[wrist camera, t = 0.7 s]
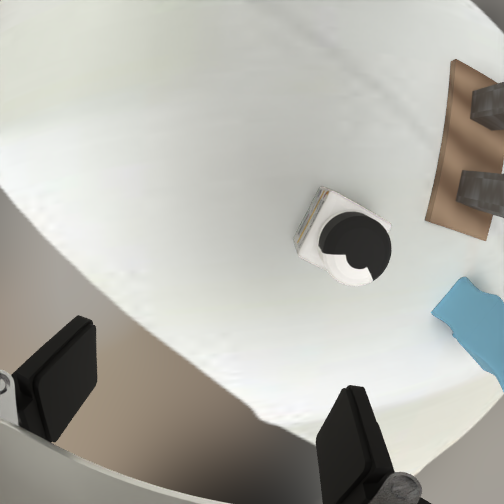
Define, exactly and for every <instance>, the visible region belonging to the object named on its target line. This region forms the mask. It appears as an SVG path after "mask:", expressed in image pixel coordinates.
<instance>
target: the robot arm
mask: <svg viewBox="0 0 504 504" xmlns="http://www.w3.org/2000/svg"><path fill="white" fill-rule="evenodd" d="M96 383H97V358H96V326H95V325H93V322H92V320H90V319H87V318H84V317H82V316H79V315H78V316H76V317H75V318H74V319H73V320H72V321H71V322H69V323H68V324H67V325H66V326H65V327H63V328H62V329H61V330H60V331H59V332H58V333H57V334H56V335H55V336H53V337H52V338H51V339H50V340H49V341H48V342H46V343H45V344H44V345H43V346H42V347H41V348H40V349H39V350H38V351H36V352H35V353H34V354H33V355H32V356H31V357H30V358H29V359H28V360H27V361H26V362H25V363H24V364H23V365H21V367H19V368H18V369H17V370H16V371H15V372H14V373H13V374H12V375H10V374H9V373H7V372H6V371H3V370H0V504H229V503H224V502H219V501H214V500H209V499H204V498H200V497H195V496H191V495H187V494H183V493H179V492H176V491H172V490H168V489H165V488H162V487H158V486H155V485H152V484H149V483H146V482H143V481H140V480H137V479H134V478H131V477H128V476H125V475H122V474H120V473H117V472H115V471H112V470H110V469H107V468H104V467H102V466H100V465H97V464H95V463H93V462H90V461H88V460H86V459H84V458H82V457H79V456H77V455H75V454H73V453H71V452H69V451H66V450H64V449H62V448H60V447H58V446H56V445H54V444H52V443H51V442H56V441H57V440H58V439H59V437H60V436H61V434H62V433H63V431H64V430H65V428H66V427H67V426H68V424H69V423H70V421H71V420H72V418H73V417H74V415H75V414H76V413H77V411H78V410H79V408H80V407H81V405H82V404H83V403H84V401H85V400H86V399H87V397H88V396H89V394H90V393H91V391H92V390H93V389H94V387H95V386H96ZM316 448H317V456H318V463H319V473H320V482H321V491H322V500H323V504H431V503H429V502H428V501H426V500H424V499H423V498H421V494H422V487H421V485H420V483H419V481H418V480H417V479H416V478H415V477H414V476H412V475H411V474H408V473H405V472H396V473H395V472H394V469H393V465H392V462H391V459H390V456H389V453H388V450H387V447H386V444H385V442H384V439H383V436H382V433H381V430H380V427H379V425H378V423H377V422H376V419H375V416H374V413H373V410H372V407H371V405H370V402H369V399H368V396H367V394H366V391H365V389H364V387H360V386H353V385H349V386H348V387H347V388H343V389H342V390H341V392H340V394H339V396H338V398H337V400H336V402H335V404H334V405H333V407H332V409H331V411H330V413H329V415H328V417H327V418H326V420H325V422H324V424H323V426H322V427H321V429H320V431H319V433H318V434H317V437H316Z"/></svg>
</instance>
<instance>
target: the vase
mask: <svg viewBox="0 0 504 504" xmlns="http://www.w3.org/2000/svg"><path fill="white" fill-rule="evenodd" d="M431 313H432V314H433V315H434V316H435V317H437V318H439V319H440V320H442V321H443V322H445V323H446V324H447V325H448V326H450V328H451V329H452V331H453V332H454V333H453V337H454V338H456V339H457V340H458V342H459V343H460V344H461V345H462V346H463V348H464V349H465V350H466V351H467V352H468V353H469V354H470V355H471V356H472V357H473V359H474V360H475V361H476V362H477V363H478V364H479V365H480V366H481V368H482V369H483V370H485V371H487V372H489V373H491V374H493V375H495V376H496V378H497V379H498V381H499V383H500V385H501V387H502V390H503V392H504V302H503V301H502V299H501V298H500V297H498V296H497V295H493V294H489V293H485V292H482V291H480V290H479V289H477V288H476V287H475V286H474V285H473V284H472V283H471V282H470V281H469V279H468V278H467V277H462V278H460V279H459V280H458V281H457V282H456V284H455V285H454V286H453V287H452V288H451V290H450V291H449V292H448V293H447V294H446V296H445V297H444V298H443V299H442V300H441V302H440V303H439V304H438V305H437V306H436V307H435V308H434V310H433V311H432V312H431Z"/></svg>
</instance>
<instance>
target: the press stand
mask: <svg viewBox="0 0 504 504" xmlns="http://www.w3.org/2000/svg"><path fill="white" fill-rule="evenodd" d="M503 160H504V82H502V83H496V82H495V81H493V80H492V79H490V78H488V77H487V76H485V75H483V74H482V73H480V72H478V71H477V70H475V69H473V68H471V67H470V66H468V65H466V64H464V63H462V62H461V61H459V60H457V59H455V60H453V61H451V67H450V81H449V92H448V101H447V109H446V117H445V124H444V131H443V137H442V144H441V149H440V155H439V160H438V165H437V170H436V175H435V180H434V185H433V189H432V193H431V198H430V202H429V206H428V210H427V214H426V218H425V220H426V221H428V222H431V223H434V224H437V225H440V226H443V227H446V228H449V229H452V230H455V231H458V232H461V233H464V234H467V235H470V236H473V237H475V238H478V239H481V240H484V241H486V239H487V236H488V232H489V228H490V224H491V220H492V216H493V215H496V216H500V217H503V218H504V174H501V173H502V167H503Z"/></svg>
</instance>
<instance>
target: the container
mask: <svg viewBox="0 0 504 504" xmlns="http://www.w3.org/2000/svg"><path fill="white" fill-rule="evenodd" d="M391 227H392V225H391V223H390V222H388V221H387V220H385V219H383V218H381V217H380V216H378V215H376V214H375V213H373V212H371V211H369V210H368V209H366V208H364V207H362V206H361V205H359V204H357V203H355V202H354V201H352V200H350V199H348V198H346V197H344V196H343V195H341V194H339V193H337V192H335V191H333V190H330V189H328V188H325V187H320V188H319V190H318V192H317V194H316V196H315V198H314V200H313V202H312V204H311V206H310V208H309V209H308V211H307V213H306V215H305V217H304V219H303V221H302V223H301V225H300V227H299V229H298V231H297V233H296V235H295V237H294V239H293V240H294V244H295V247H296V250H297V253H298V257H300V258H301V259H303V260H305V261H307V262H309V263H312V264H314V265H316V266H318V267H320V268H322V269H324V270H326V271H328V273H329V274H330V275H331V276H332V277H333V278H334V279H335V280H336V281H338V282H340V283H341V284H344V285H348V286H362V285H365V284H368V283H370V282H372V281H374V280H375V279H377V278H378V277H379V276H380V275H381V274H382V273H383V272H384V270H385V269H386V267H387V265H388V263H389V260H390V256H391V241H390V238H389V235H388V233H389V231H390V229H391Z"/></svg>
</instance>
